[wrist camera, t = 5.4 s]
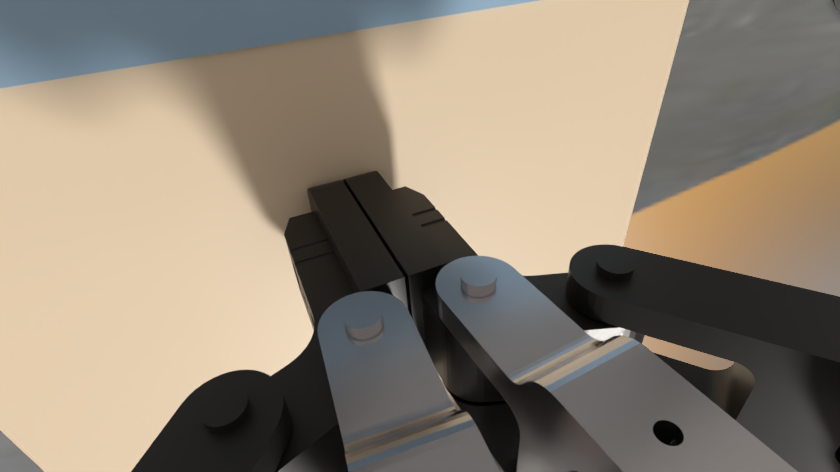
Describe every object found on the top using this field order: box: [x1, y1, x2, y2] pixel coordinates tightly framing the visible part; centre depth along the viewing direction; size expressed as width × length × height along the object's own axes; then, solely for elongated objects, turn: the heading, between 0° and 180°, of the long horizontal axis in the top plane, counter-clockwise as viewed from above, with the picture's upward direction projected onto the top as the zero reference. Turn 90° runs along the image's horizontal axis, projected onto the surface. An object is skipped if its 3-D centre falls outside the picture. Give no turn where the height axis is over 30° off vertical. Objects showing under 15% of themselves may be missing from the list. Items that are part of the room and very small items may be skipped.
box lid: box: [0, 0, 689, 472], centre depth 12 cm, size 16×16×1 cm
